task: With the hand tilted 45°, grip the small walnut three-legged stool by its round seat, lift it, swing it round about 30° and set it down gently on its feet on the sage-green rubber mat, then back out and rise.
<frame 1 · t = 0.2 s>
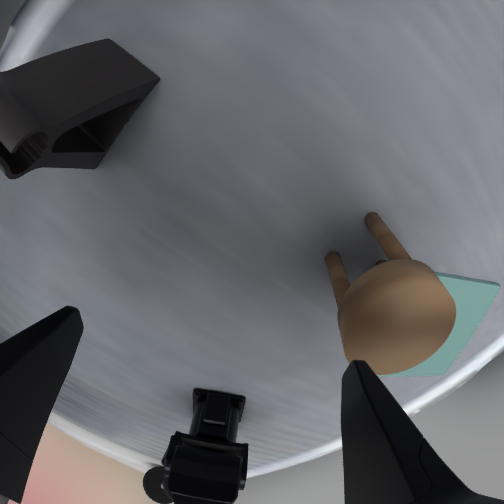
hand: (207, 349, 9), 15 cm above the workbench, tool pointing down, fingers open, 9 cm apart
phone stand: (102, 103, 19), on the workbench
rubber mat: (427, 330, 27), on the workbench
dumbbell: (176, 466, 51), on the workbench
walnut stool: (362, 248, 23), on the workbench
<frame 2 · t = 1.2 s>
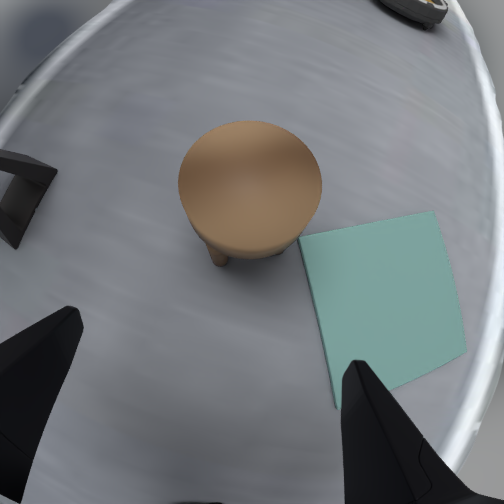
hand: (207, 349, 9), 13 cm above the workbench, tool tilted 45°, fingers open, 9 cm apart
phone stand: (22, 200, 23), on the workbench
rubber mat: (394, 302, 23), on the workbench
walnut stool: (245, 236, 23), on the workbench
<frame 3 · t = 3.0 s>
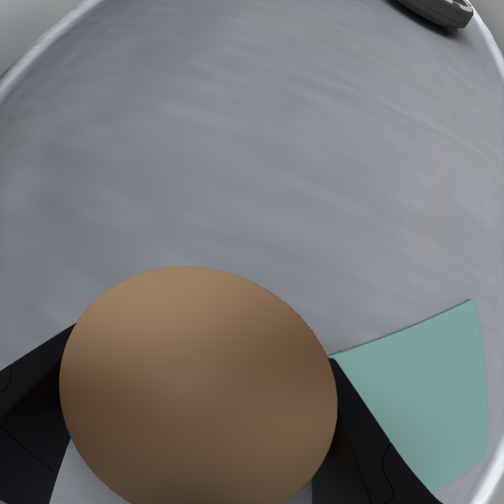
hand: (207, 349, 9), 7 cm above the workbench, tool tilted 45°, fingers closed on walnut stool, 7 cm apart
rubber mat: (413, 427, 15), on the workbench
walnut stool: (216, 364, 15), on the workbench, touching gripper
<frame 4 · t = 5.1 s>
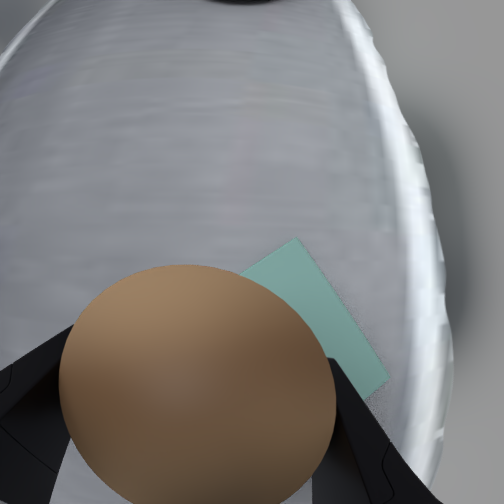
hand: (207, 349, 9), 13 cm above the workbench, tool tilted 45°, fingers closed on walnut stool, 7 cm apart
rubber mat: (272, 363, 21), on the workbench
walnut stool: (217, 363, 15), point 6 cm above the workbench, touching gripper
when the fingers open (9 cm above the workbench, at t = 7.1 s): walnut stool stays where it is, resting on rubber mat.
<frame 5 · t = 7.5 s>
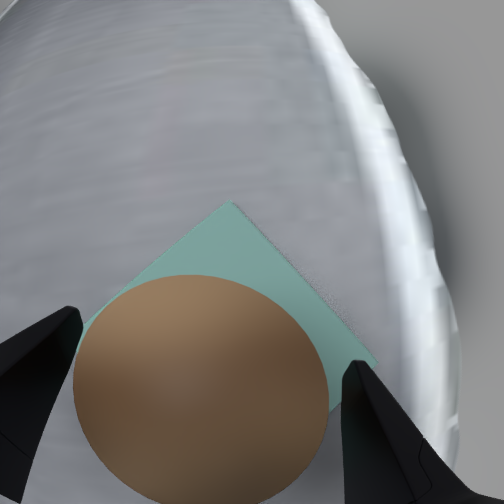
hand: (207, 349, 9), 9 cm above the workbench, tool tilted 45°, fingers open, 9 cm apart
rubber mat: (218, 360, 17), on the workbench
walnut stool: (218, 362, 16), point 1 cm above the workbench, touching rubber mat
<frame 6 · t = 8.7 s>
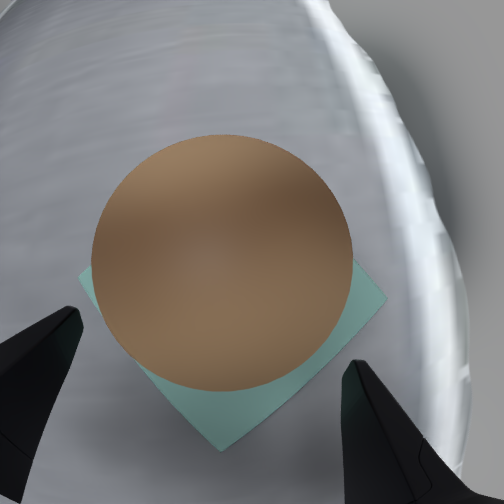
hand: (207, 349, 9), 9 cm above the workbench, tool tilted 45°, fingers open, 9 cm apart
rubber mat: (229, 293, 17), on the workbench
walnut stool: (229, 293, 17), point 1 cm above the workbench, touching rubber mat
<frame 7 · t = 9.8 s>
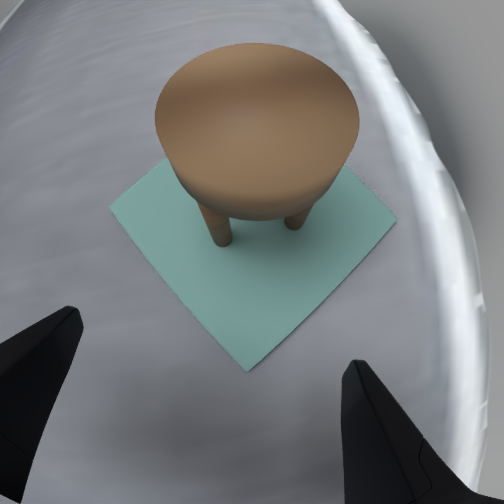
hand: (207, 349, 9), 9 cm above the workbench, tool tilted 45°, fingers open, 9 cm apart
rubber mat: (253, 212, 19), on the workbench
walnut stool: (253, 209, 18), point 1 cm above the workbench, touching rubber mat
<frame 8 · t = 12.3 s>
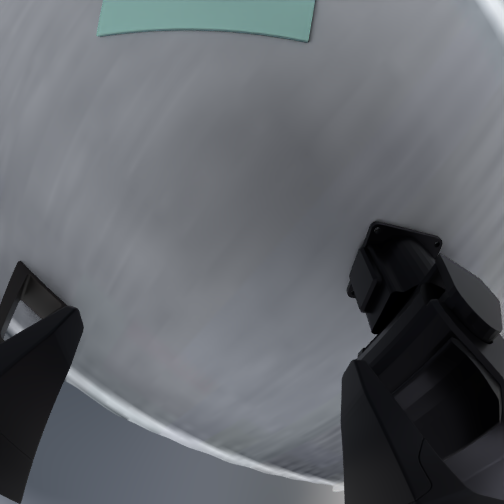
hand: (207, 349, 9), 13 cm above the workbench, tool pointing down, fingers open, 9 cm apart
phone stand: (42, 298, 27), on the workbench
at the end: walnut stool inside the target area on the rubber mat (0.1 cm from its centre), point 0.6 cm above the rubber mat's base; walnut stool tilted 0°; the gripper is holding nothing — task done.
